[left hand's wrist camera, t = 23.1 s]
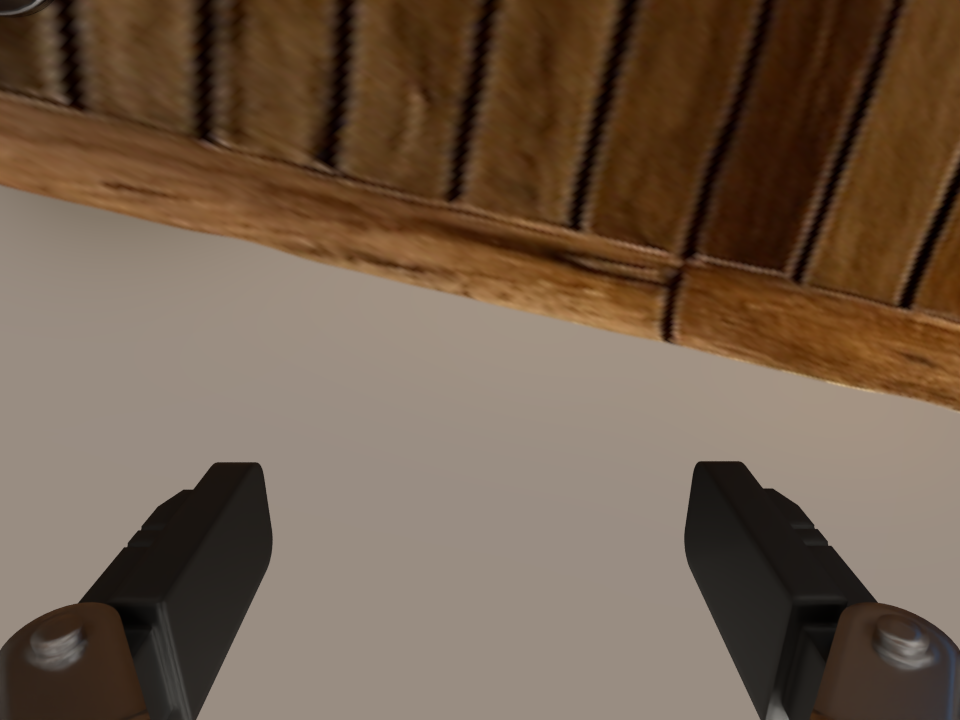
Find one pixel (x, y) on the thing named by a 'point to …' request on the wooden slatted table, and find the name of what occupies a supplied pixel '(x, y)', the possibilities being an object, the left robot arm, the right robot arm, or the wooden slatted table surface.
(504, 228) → the wooden slatted table surface
